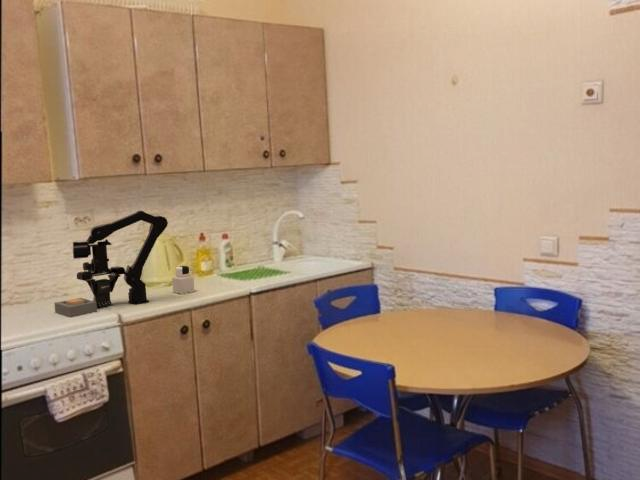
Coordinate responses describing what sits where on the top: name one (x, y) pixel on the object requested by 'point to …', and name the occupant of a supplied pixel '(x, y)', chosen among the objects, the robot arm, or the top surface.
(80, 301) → the switch button
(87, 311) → the grey open box
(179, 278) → the grey stepped upright block
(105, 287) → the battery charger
